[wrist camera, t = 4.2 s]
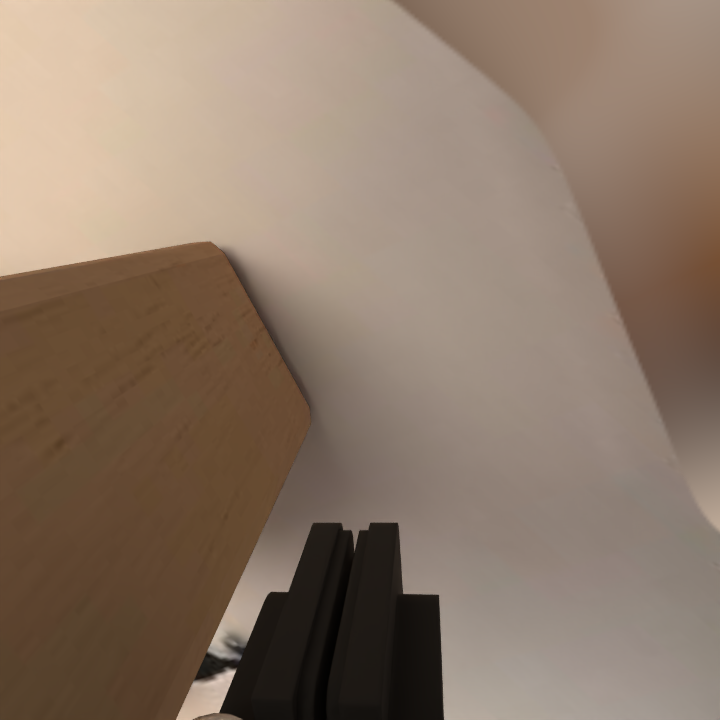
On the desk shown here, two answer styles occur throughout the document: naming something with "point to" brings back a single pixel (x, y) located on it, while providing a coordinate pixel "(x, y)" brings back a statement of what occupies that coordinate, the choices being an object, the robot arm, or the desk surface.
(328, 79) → the desk surface
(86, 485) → the block
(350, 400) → the desk surface
